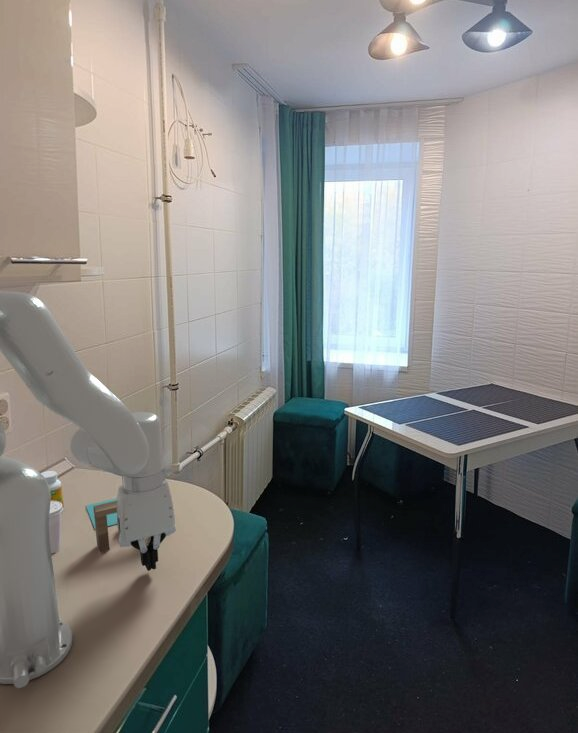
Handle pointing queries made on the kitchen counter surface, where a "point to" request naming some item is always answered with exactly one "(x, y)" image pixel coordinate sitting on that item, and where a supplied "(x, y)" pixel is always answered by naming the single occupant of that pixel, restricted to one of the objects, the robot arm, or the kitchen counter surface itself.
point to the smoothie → (55, 525)
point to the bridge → (103, 523)
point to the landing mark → (110, 518)
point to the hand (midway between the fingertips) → (150, 566)
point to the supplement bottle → (54, 486)
